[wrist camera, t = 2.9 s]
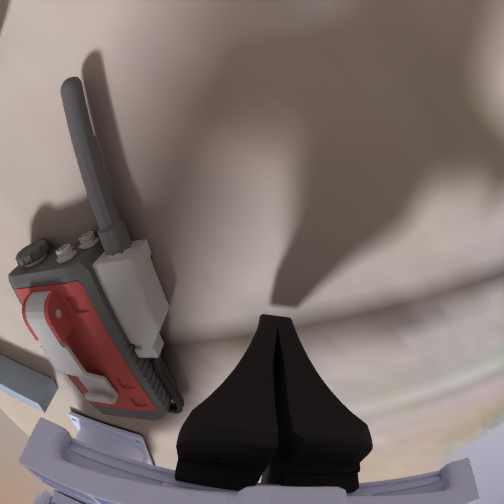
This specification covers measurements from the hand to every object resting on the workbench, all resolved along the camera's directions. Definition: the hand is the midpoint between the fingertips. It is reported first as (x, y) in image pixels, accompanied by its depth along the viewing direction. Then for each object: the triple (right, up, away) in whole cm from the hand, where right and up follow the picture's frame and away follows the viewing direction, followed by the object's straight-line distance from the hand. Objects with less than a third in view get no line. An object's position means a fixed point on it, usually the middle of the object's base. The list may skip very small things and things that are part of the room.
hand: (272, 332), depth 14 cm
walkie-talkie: (-10, +2, +2) cm, 10 cm away
